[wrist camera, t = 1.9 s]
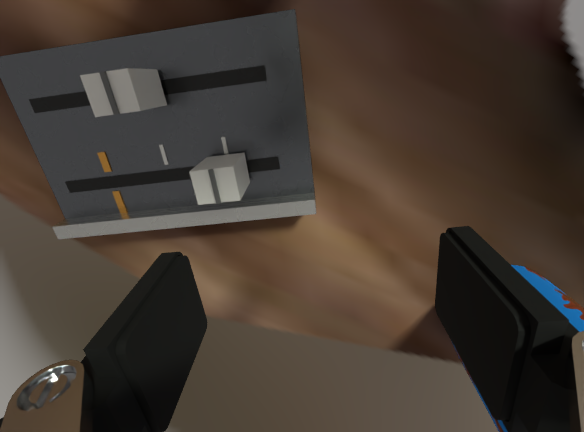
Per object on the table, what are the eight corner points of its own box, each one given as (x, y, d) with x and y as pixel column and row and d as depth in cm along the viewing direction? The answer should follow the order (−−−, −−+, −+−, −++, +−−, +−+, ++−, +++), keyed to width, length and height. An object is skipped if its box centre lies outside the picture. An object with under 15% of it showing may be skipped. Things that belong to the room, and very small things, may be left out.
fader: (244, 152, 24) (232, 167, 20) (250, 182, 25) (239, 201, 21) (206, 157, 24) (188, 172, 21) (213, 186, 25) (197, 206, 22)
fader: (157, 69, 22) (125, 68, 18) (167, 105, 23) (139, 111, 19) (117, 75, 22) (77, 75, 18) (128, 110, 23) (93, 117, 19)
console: (295, 14, 22) (293, 4, 19) (315, 197, 28) (316, 213, 25) (14, 59, 24) (-31, 56, 21) (85, 221, 30) (58, 239, 27)
